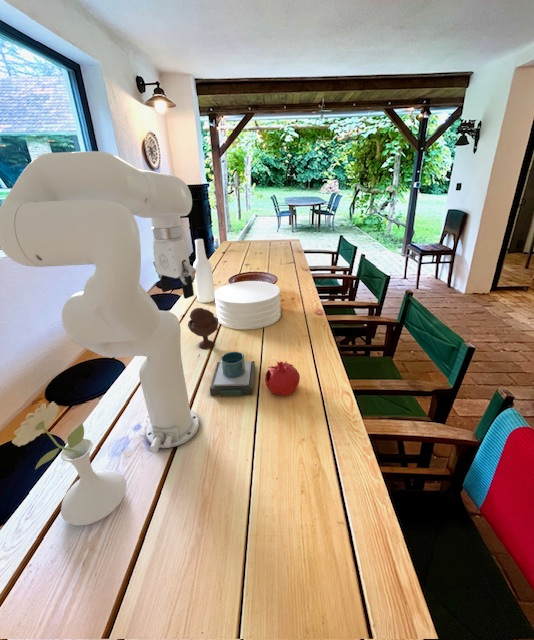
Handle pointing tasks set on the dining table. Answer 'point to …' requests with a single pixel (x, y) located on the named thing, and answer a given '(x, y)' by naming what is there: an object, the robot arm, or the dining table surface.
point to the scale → (233, 381)
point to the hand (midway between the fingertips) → (177, 293)
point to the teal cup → (233, 364)
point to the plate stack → (248, 304)
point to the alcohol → (203, 274)
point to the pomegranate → (282, 379)
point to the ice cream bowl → (203, 325)
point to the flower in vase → (93, 486)
